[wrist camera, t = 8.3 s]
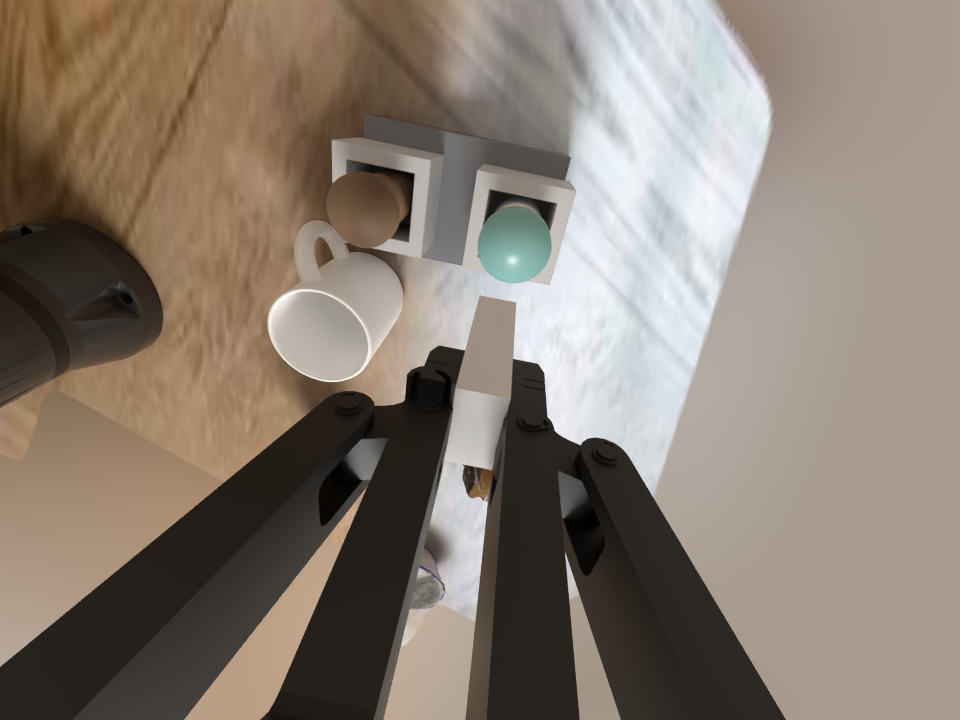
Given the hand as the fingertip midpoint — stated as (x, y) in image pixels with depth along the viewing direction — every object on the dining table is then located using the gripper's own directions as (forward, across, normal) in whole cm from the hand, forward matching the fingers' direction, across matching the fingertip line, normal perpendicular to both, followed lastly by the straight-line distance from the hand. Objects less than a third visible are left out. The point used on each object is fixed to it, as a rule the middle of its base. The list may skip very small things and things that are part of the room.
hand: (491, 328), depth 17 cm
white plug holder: (+21, -4, +1) cm, 22 cm away
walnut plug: (+19, -9, +1) cm, 21 cm away
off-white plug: (+18, +1, +1) cm, 18 cm away
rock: (+22, +1, -26) cm, 34 cm away
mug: (+22, -13, -8) cm, 27 cm away
